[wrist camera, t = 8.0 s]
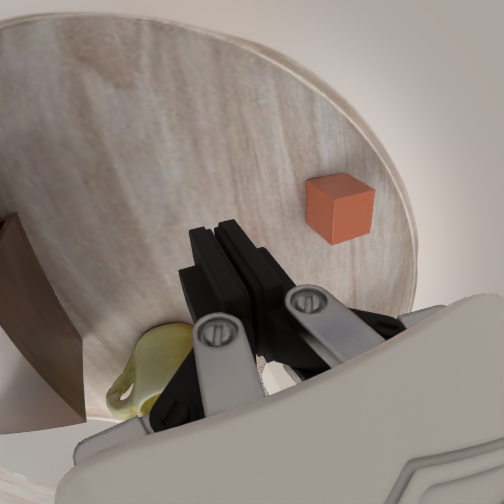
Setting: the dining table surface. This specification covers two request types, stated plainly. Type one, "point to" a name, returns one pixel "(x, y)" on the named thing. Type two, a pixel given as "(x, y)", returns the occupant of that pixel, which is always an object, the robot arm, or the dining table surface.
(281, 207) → the dining table surface
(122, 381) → the mug
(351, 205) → the block
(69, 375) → the cabinet
